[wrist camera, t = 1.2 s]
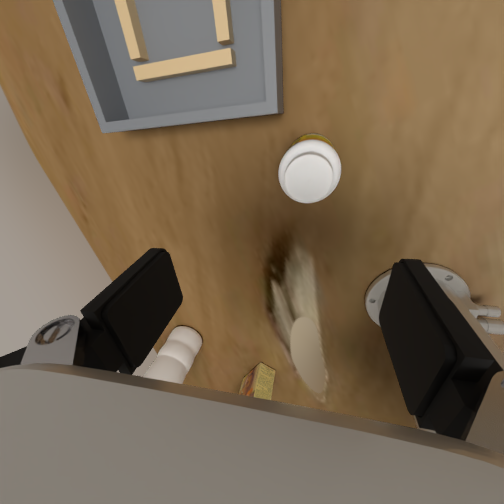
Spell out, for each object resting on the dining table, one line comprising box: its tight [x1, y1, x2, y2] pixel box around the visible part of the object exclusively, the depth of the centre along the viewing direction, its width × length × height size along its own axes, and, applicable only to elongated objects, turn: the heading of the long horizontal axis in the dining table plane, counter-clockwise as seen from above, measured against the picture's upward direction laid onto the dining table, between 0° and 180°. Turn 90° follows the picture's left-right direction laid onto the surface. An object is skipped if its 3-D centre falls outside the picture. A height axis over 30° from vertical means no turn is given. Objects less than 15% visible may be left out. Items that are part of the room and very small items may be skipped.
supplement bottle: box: [278, 133, 341, 203], centre depth 23 cm, size 6×6×10 cm
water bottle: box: [143, 326, 202, 384], centre depth 40 cm, size 7×7×25 cm
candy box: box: [239, 362, 275, 400], centre depth 46 cm, size 9×4×15 cm, turn 153°
